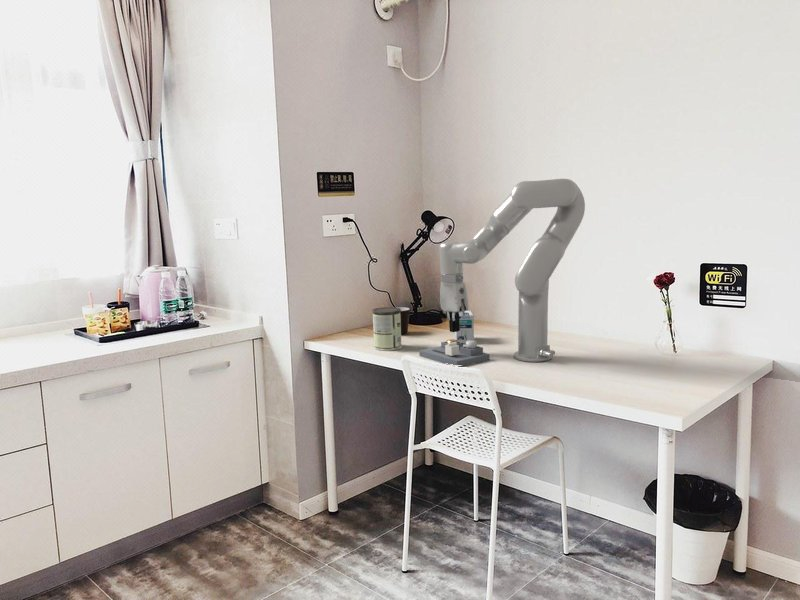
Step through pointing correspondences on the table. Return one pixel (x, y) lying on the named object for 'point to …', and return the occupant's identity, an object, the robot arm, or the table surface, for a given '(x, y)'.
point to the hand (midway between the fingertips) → (454, 331)
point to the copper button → (451, 340)
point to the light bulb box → (465, 328)
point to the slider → (452, 349)
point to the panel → (462, 358)
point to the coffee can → (387, 328)
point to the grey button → (471, 344)
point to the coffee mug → (404, 319)
